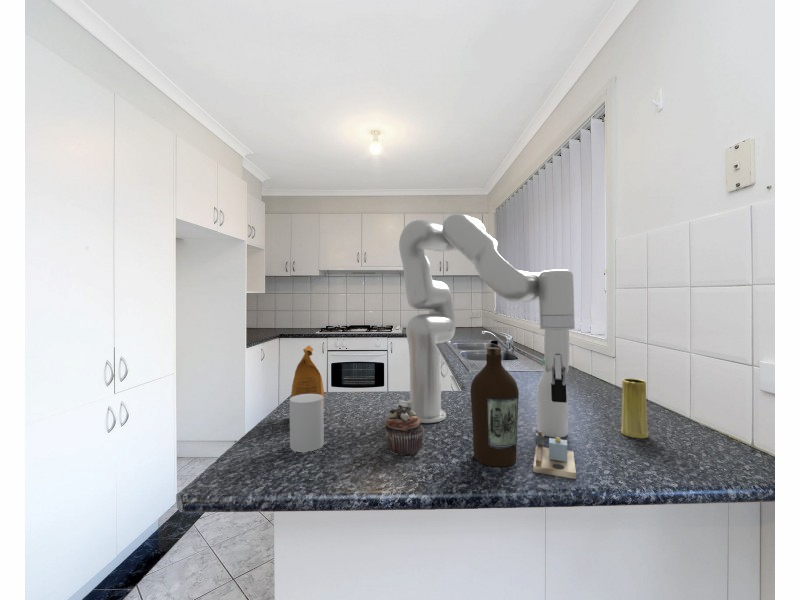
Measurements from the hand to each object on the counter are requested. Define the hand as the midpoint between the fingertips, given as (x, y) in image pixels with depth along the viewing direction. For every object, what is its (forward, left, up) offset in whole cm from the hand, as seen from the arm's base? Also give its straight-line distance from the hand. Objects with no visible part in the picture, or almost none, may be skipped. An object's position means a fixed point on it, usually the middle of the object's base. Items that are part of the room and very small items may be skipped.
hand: (559, 401), depth 84 cm
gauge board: (-1, -6, -12) cm, 14 cm away
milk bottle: (-2, +13, -12) cm, 18 cm away
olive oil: (-14, -8, -12) cm, 20 cm away
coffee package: (-70, -3, -13) cm, 71 cm away
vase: (+18, +20, -12) cm, 30 cm away
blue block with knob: (0, -6, -11) cm, 13 cm away
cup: (-58, -19, -13) cm, 62 cm away
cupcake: (-35, -11, -13) cm, 38 cm away
